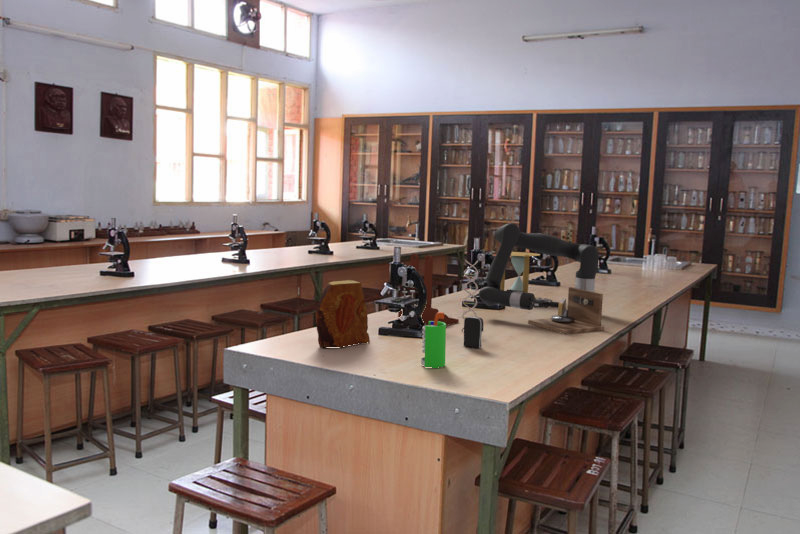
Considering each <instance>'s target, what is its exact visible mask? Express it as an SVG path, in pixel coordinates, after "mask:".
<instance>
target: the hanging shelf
mask: <svg viewBox="0 0 800 534" xmlns="http://www.w3.org/2000/svg"><path fill="white" fill-rule="evenodd" d="M419 258H420V257H419V254H417V253H412V254H411V255H410V267H411V266H413V267H415V268H416V270H417V271H418V272H419V270H420V269H419V266H420V265H419V264H420V262H419V261H420V259H419ZM433 263H434V257H433V256H432V255H430V254H428V255H425V257H424V273H423V274H424V275H423V285H424V284H425V286H426V289H427V304H426V308H425V310H424V312H423V314H422V319H423V321H424V323H423V324H425V323H427V324H426V325H429V321H434V320H435V316H436V314H437V313H438V312H440V311H439V309H438V308H435V307H432V305H433V303H432V302H433V301H432V299H433V272H434V271H433V266H434V264H433ZM397 312H398V311H397ZM401 314H402V311H400V312H398V313H397V318H398V317H400V316H401ZM459 320H460V319H459V318H454V317H449V316H448V315H447V314H445V313H444V319H441V318H439V319H438V322H444V323H446V326H449V325H448V324H450V325H454V324H453V323H455V324H458V323H457V322H460V321H459Z"/></svg>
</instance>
